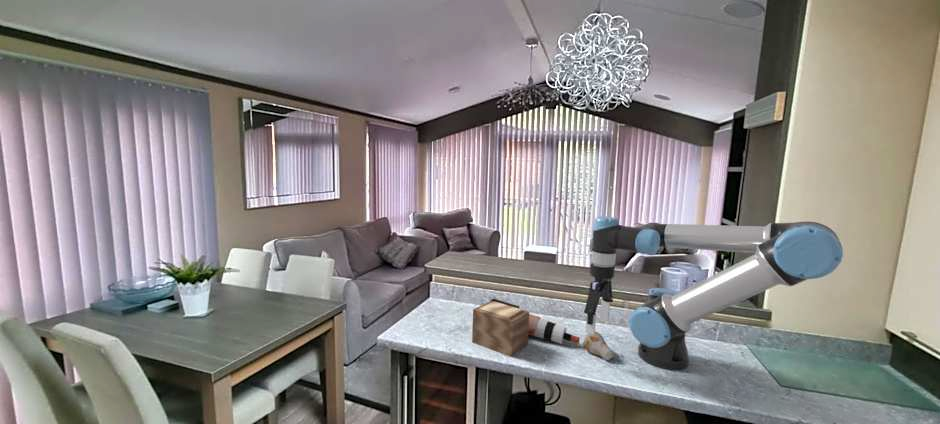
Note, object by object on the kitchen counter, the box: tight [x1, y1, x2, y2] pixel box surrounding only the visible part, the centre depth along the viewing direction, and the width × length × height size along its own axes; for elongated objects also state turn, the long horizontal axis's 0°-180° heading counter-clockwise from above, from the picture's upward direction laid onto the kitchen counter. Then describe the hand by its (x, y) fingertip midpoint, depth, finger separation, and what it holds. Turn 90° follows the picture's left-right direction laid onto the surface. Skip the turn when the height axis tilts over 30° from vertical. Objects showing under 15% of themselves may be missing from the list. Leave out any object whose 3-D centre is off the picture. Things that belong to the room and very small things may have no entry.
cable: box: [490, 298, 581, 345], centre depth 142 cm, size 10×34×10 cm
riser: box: [471, 300, 530, 358], centre depth 135 cm, size 16×11×13 cm
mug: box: [582, 331, 616, 361], centre depth 130 cm, size 8×10×10 cm
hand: (597, 326), depth 129 cm, fingers open, 13 cm apart
